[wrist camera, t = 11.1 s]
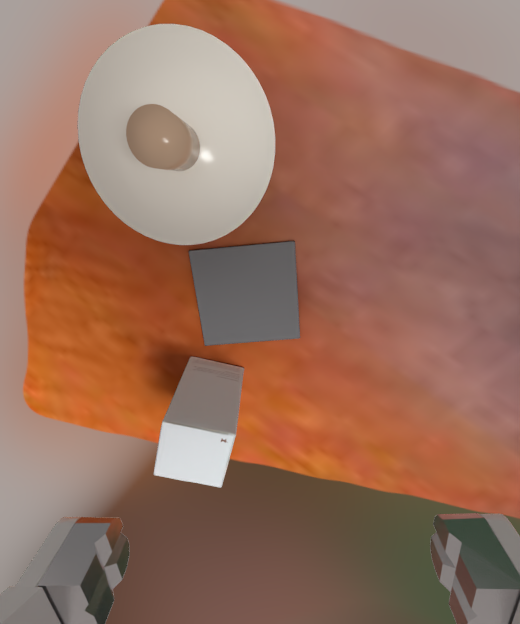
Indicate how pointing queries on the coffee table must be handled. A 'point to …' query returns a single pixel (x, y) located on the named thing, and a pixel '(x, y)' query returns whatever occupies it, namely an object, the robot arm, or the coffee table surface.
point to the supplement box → (200, 423)
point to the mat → (247, 292)
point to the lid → (176, 134)
